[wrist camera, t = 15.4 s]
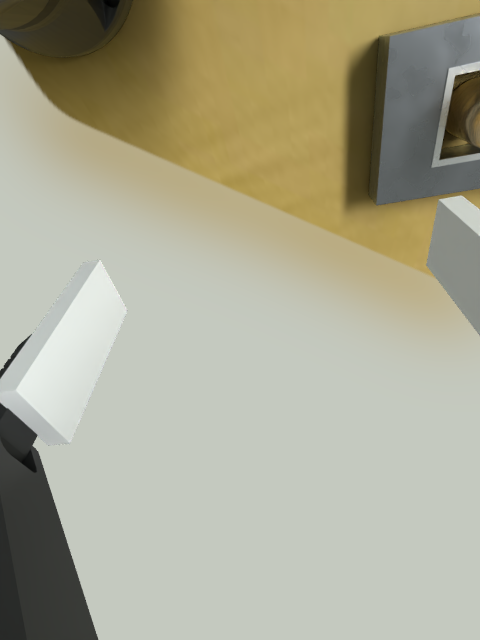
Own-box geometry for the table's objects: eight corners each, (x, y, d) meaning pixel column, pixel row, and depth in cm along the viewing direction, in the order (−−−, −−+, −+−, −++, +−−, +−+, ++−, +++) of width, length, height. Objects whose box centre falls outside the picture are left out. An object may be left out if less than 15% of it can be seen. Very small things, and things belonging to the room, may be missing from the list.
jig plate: (378, 36, 29) (390, 36, 27) (613, -18, 27) (648, -23, 24) (368, 195, 38) (376, 205, 36) (543, 165, 36) (564, 175, 33)
